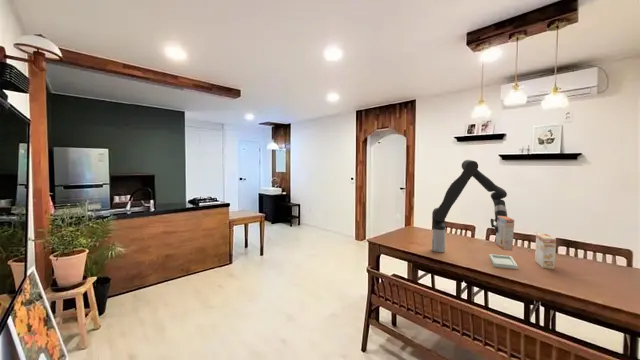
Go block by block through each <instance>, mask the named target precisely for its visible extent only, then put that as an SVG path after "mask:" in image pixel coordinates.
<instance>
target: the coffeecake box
mask: <svg viewBox="0 0 640 360" xmlns="http://www.w3.org/2000/svg"><path fill="white" fill-rule="evenodd" d="M556 247H557V239H556V238H555V237H554V236H551V235H550V234H548V233H536V234H535V253H534V262H536V263H537V264H538V265H539V266H540V267H541V268H542V269H550V270H551V269H553V270H556V249H557V248H556Z"/></svg>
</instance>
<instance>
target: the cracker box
mask: <svg viewBox="0 0 640 360" xmlns="http://www.w3.org/2000/svg"><path fill="white" fill-rule="evenodd" d="M497 228H498V233H496V232H495V233H496V234H495V246H497V247H498V248H500V249H501V250H503V251H509V252H512V251H513V244H514V231H515V230H514V229H515V219H514V218H511V217H509V216H508V215H507V216H497Z"/></svg>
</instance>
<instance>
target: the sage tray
mask: <svg viewBox="0 0 640 360" xmlns="http://www.w3.org/2000/svg"><path fill="white" fill-rule="evenodd" d="M488 257H489V259H490V261H491V263H492V266H493V267H494V268H501V269H502V268H503V269H504V268H505V269H511V270H513V269H514V270H518V269H519V265H518V264H517V262H516V261H515V260H514V258H513V256H511V255H501V254H492V253H489V255H488Z"/></svg>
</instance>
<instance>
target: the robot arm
mask: <svg viewBox="0 0 640 360" xmlns="http://www.w3.org/2000/svg"><path fill="white" fill-rule="evenodd" d="M461 169H462V170H463V171H462V172H461V174H460V175H459V176H458V177H457V178H455V179H454V180H453V182H452V183H451V184H450V185H449V187H448V188H447V190H446V192H445V193H444V194H445V195H444V197H443V199H442V202H441V203H440V204H439V206H438V207H435V208H434V209H433V210H432V216H431V220H432V221H431V222H432V223H431V226H432V234H431V236H432V238H431V252H435V253H445V252H446V218H447V216H448V214H449V212H450V211H451V208H452V206H453V205H454V204H455V203H456V201H457V200H458V198H459V197H460V196H461V194H462V192H463V190H464V189H465V188H466V186H467V184H468V183H469V181H470V180H471V178H474V180H476V181H477V183H479V184H480V185H481V186H482V187H483V188H484V189H485V190H486V191H487V192H489V193H491V194H490V198H491V201H492V202H493V205H494V210H493V211H494V212H493V213H494V218H490V226H491V228H494V232H495V233H498V228H497V216H507V217H508V211H507V208H506V207H507V206H506V201H505V200H503V199H505V198H506V197H507V196H508V194H507V193H508V192H507V191H506V190H505V189H504V188H502V187H500V186H498V185H497V184H495V182H494V181H493V180H491V179H490V178H489V177H488V176H486V175H485V174H484V173H482V172H481V171H480V170H479V164H478V162H477V161H475V160H471V159H466V160H463V162H462V163H461Z"/></svg>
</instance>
